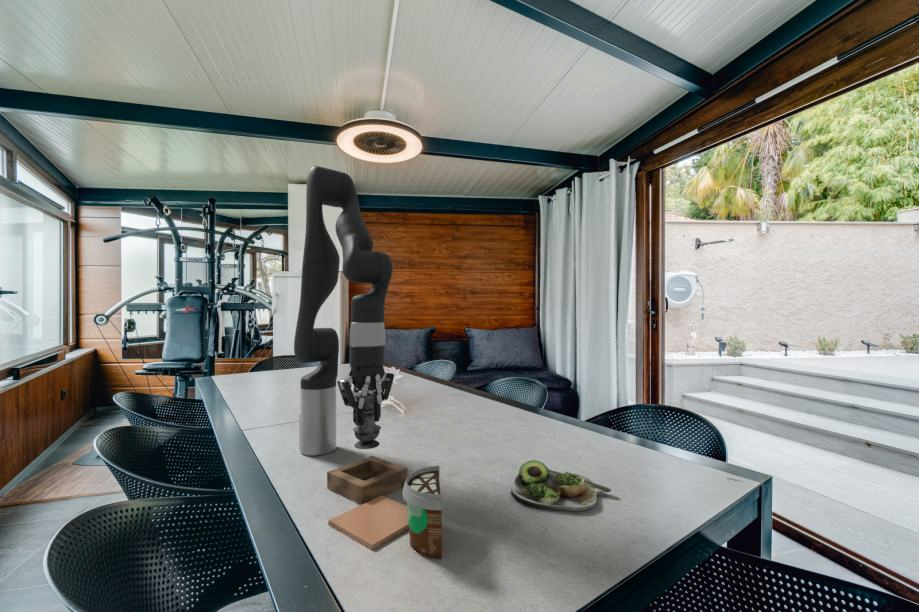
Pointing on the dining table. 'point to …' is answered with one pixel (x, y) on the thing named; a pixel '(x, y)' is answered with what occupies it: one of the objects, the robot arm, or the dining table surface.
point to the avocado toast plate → (553, 488)
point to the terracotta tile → (373, 521)
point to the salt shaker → (367, 426)
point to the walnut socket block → (361, 491)
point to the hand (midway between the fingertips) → (367, 422)
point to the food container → (424, 511)
